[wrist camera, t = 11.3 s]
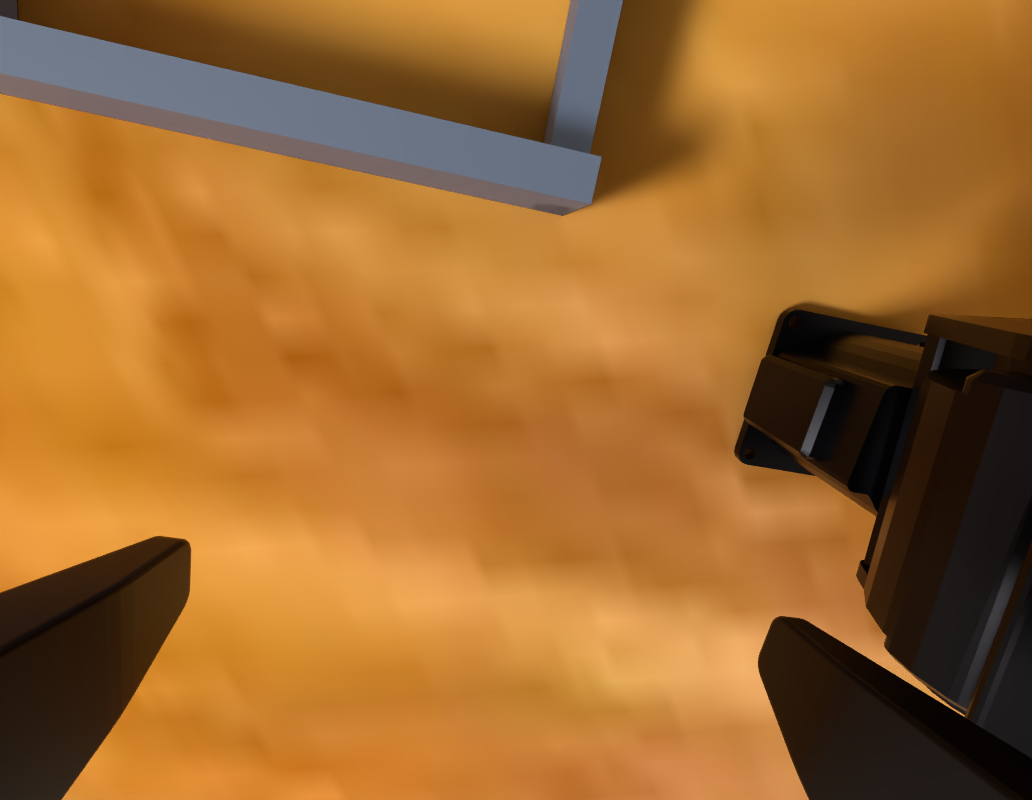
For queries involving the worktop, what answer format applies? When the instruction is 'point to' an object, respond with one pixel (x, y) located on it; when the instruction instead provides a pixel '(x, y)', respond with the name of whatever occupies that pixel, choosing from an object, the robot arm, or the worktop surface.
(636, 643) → the worktop surface
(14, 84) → the blue-grey rectangular tray
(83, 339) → the worktop surface
